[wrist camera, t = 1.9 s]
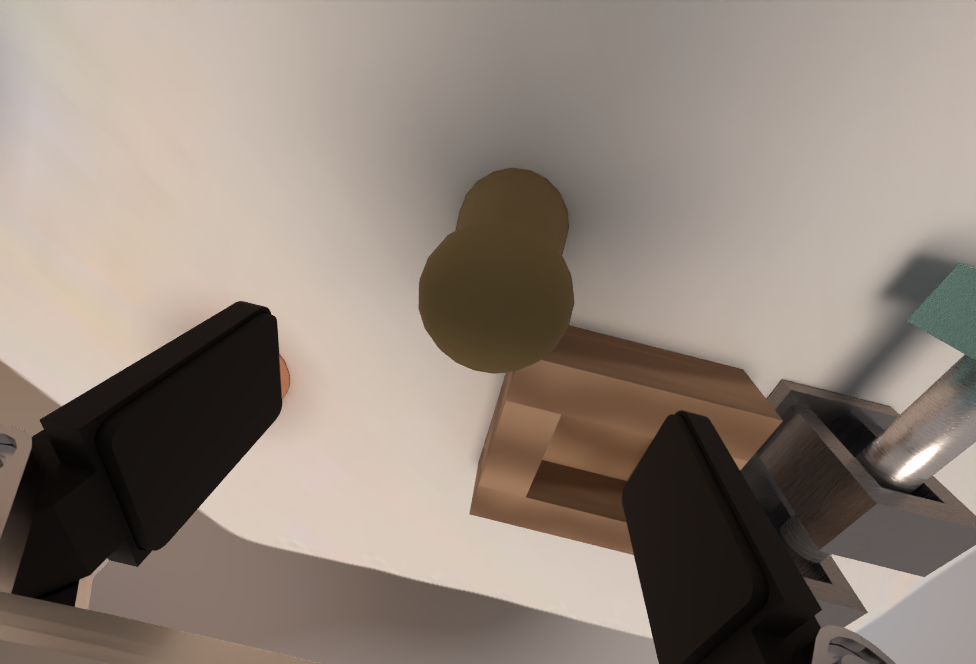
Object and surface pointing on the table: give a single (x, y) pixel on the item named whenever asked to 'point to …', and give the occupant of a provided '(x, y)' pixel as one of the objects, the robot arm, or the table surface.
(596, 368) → the walnut holder
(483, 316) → the olive brown pear shape
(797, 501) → the shaft bracket
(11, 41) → the table surface
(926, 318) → the steel shaft
